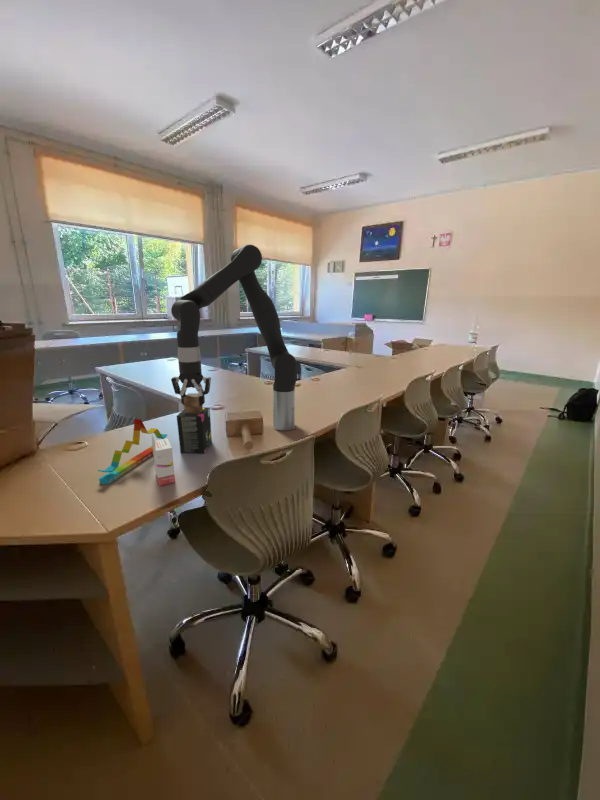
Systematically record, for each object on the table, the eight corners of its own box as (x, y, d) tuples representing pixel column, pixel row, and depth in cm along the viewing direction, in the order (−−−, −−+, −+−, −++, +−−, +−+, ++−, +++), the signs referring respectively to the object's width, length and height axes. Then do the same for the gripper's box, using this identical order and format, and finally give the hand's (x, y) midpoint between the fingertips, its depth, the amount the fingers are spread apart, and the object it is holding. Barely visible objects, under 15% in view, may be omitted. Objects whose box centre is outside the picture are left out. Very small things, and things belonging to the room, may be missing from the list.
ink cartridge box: (176, 482, 105) (171, 438, 101) (159, 486, 103) (153, 441, 98) (171, 470, 112) (166, 429, 108) (155, 474, 110) (150, 431, 105)
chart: (108, 485, 103) (100, 440, 99) (100, 483, 104) (91, 438, 100) (169, 445, 131) (165, 408, 127) (162, 444, 132) (158, 407, 128)
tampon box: (204, 454, 124) (201, 416, 120) (179, 453, 124) (175, 415, 120) (212, 441, 135) (210, 406, 130) (189, 441, 135) (186, 406, 130)
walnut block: (202, 409, 127) (201, 393, 126) (198, 413, 123) (197, 397, 121) (189, 408, 127) (188, 393, 126) (184, 413, 123) (183, 396, 121)
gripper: (212, 357, 123) (215, 402, 128) (173, 357, 123) (177, 401, 128) (207, 361, 116) (210, 408, 121) (165, 361, 116) (170, 407, 121)
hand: (193, 404), depth 124 cm, fingers open, 5 cm apart
